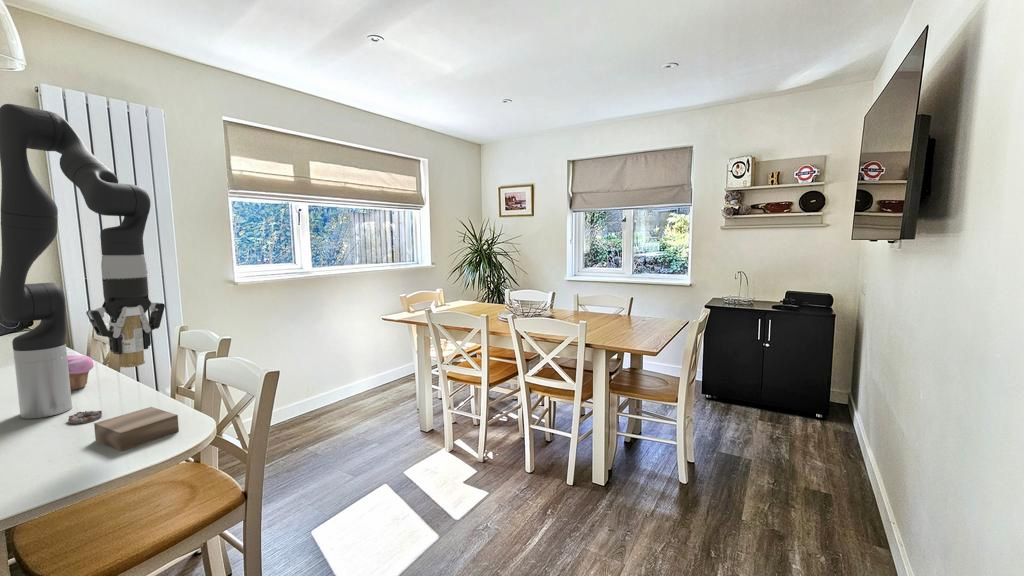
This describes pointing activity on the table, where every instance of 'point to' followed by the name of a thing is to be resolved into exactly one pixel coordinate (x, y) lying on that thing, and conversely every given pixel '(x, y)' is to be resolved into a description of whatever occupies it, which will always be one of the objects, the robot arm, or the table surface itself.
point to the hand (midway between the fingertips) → (131, 350)
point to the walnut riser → (136, 428)
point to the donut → (85, 417)
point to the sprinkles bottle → (132, 339)
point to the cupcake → (79, 370)
